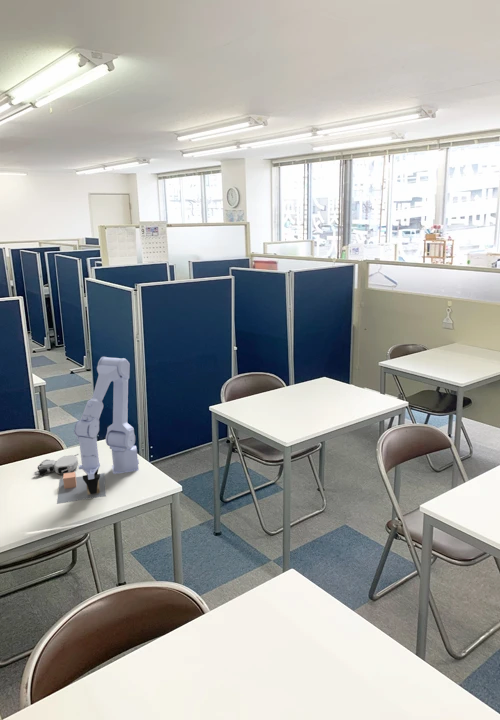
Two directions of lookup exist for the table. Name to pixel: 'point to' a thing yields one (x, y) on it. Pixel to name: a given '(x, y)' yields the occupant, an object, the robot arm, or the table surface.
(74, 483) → the base brick
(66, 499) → the baseplate
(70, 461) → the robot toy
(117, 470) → the robot arm
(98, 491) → the top brick
